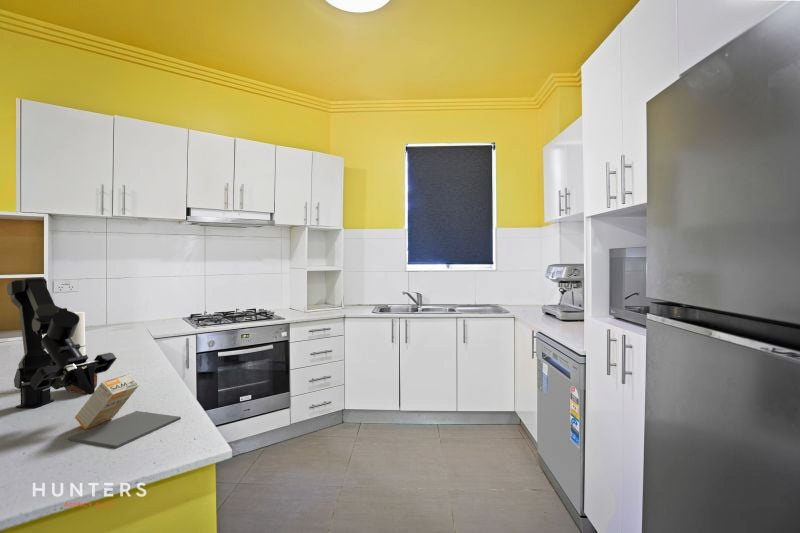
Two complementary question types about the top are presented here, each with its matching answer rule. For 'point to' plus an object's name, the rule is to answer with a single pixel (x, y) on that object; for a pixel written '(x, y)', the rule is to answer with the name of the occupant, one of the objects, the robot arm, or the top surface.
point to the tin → (75, 389)
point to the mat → (124, 429)
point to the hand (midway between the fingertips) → (92, 393)
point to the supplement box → (106, 401)
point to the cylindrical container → (80, 333)
